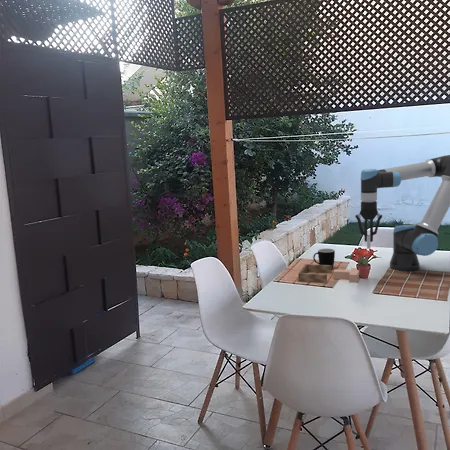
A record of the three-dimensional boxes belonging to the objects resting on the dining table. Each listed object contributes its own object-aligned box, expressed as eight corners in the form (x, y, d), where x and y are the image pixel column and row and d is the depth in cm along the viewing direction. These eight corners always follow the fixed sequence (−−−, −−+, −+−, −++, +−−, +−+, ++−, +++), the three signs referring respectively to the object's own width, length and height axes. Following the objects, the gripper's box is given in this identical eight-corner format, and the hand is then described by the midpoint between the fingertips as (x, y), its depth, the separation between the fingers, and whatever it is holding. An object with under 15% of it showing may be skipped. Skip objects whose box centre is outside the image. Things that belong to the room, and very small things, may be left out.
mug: (336, 266, 261) (336, 249, 260) (332, 270, 254) (332, 252, 252) (316, 264, 267) (315, 247, 265) (311, 268, 259) (310, 251, 258)
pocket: (331, 272, 250) (331, 265, 250) (326, 282, 233) (326, 275, 233) (305, 271, 255) (305, 264, 255) (298, 281, 238) (298, 273, 238)
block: (359, 275, 242) (359, 268, 242) (357, 282, 231) (357, 274, 231) (335, 274, 246) (335, 267, 246) (332, 281, 235) (332, 273, 235)
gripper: (383, 199, 229) (382, 246, 233) (355, 200, 234) (355, 245, 238) (382, 202, 222) (382, 250, 226) (354, 202, 227) (354, 249, 231)
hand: (368, 247), depth 232 cm, fingers closed
